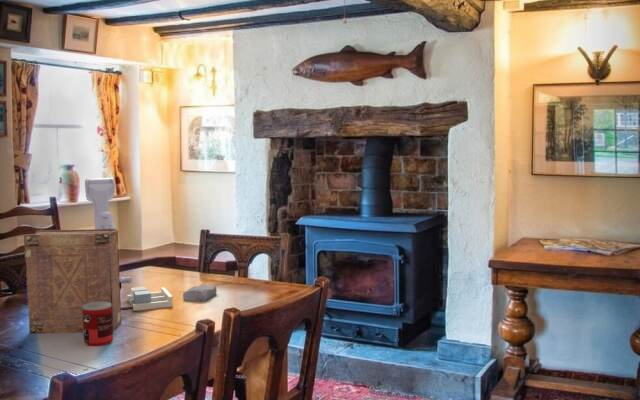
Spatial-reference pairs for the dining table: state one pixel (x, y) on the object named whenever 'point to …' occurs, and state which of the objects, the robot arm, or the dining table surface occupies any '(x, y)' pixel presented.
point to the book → (70, 277)
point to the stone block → (200, 293)
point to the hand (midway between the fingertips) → (110, 306)
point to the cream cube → (137, 290)
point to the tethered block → (140, 298)
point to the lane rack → (154, 301)
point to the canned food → (97, 323)
